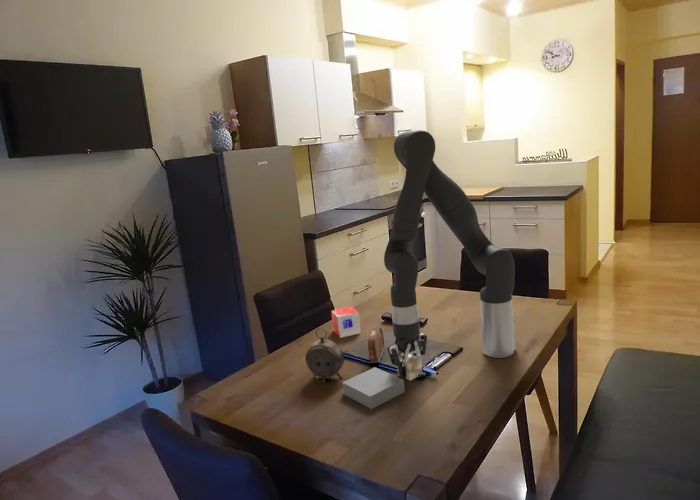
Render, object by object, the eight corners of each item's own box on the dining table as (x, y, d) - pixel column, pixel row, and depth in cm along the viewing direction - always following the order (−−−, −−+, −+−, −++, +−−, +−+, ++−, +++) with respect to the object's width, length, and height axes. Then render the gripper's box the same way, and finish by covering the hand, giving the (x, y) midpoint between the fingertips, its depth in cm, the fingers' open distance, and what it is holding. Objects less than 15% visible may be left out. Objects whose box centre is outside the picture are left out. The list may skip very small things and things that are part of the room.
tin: (378, 367, 159) (376, 341, 157) (368, 367, 160) (365, 342, 158) (385, 347, 174) (383, 323, 172) (376, 347, 174) (373, 323, 172)
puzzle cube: (353, 326, 195) (351, 306, 194) (360, 333, 188) (358, 312, 186) (333, 330, 193) (330, 310, 191) (339, 338, 186) (337, 317, 184)
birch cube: (410, 369, 156) (409, 353, 155) (422, 374, 152) (421, 358, 151) (398, 375, 153) (396, 359, 152) (410, 380, 149) (408, 364, 148)
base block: (376, 379, 152) (374, 367, 152) (404, 393, 143) (403, 379, 142) (343, 395, 145) (342, 382, 145) (371, 410, 136) (370, 396, 135)
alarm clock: (346, 376, 156) (340, 325, 152) (340, 384, 151) (334, 332, 147) (313, 374, 159) (306, 324, 156) (306, 382, 154) (299, 331, 151)
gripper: (395, 329, 141) (401, 386, 145) (432, 314, 150) (436, 368, 153) (377, 323, 147) (383, 378, 151) (414, 308, 156) (418, 361, 159)
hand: (410, 373), depth 152 cm, fingers closed on birch cube, 5 cm apart
